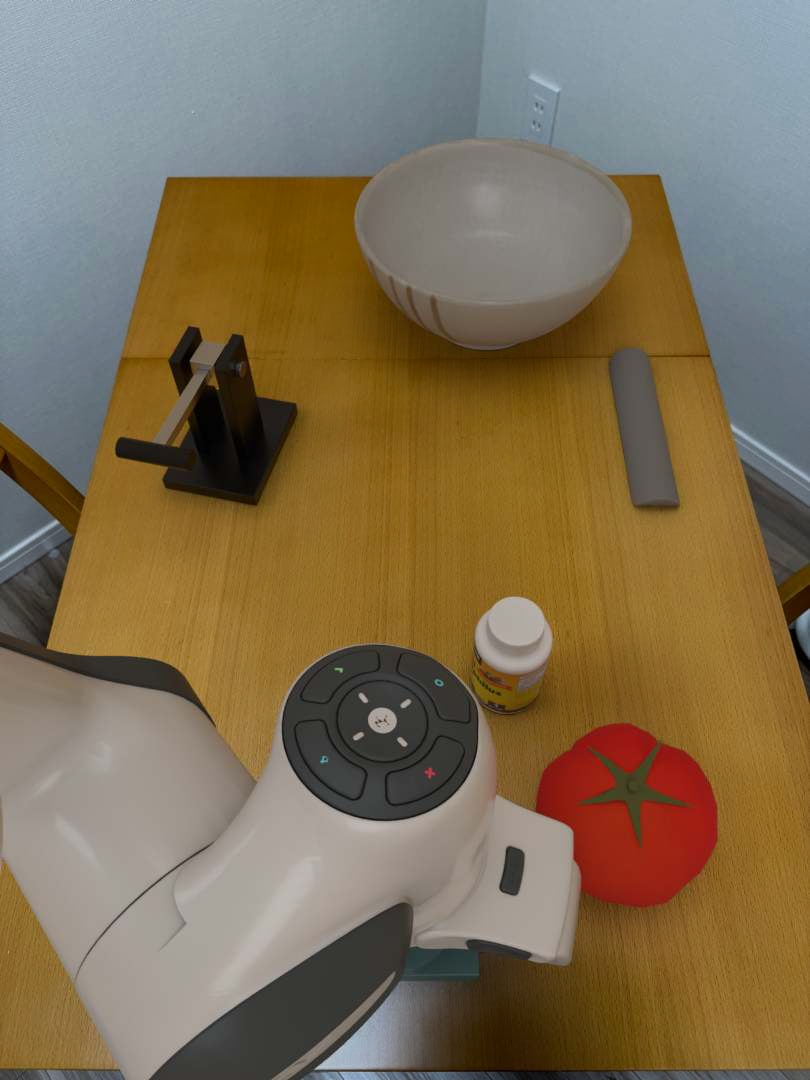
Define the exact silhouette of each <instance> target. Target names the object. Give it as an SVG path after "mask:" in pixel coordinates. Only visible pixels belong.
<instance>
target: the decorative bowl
mask: <svg viewBox="0 0 810 1080" xmlns="http://www.w3.org/2000/svg"><path fill="white" fill-rule="evenodd" d="M353 223H354V224H353V226H354V233H355V236H356V240H357V243H358V247H359V249H360V252H361V254H362V257H363V259H364V261H365V263H366V265H367V268H368V270H369V271H370V273H371V274H372V276H373V278H374V280H375V281H376V283H377V284H378V286H379V287H380V288H381V290H382V292H383V293H384V294H385V296H386V297H387V298H388V299H389V300H390V301H391V303H393V305H394V306H395V307H396V308H397V309H398V310H399V311H400V312H401V313H402V314H404V316H406V317H408V319H409V320H411V321H412V322H413V323H415V324H416V325H418V326H420V327H421V328H423V329H425V330H426V331H428V332H429V333H432V334H434V335H435V336H437V337H439V338H440V337H441V338H443V339H444V340H447V341H449V342H450V343H453V344H455V345H458V346H461V347H464V348H467V349H472V350H479V351H482V350H483V351H494V350H502V349H506V348H510V347H513V346H516V345H518V344H521V343H525V342H528V341H532V340H535V339H539V338H540V337H542V336H544V335H547V334H549V333H551V332H552V331H555V330H556V329H559V328H560V327H562V326H564V325H565V324H567V323H568V322H569V321H570V320H571V319H573V318H575V317H576V316H577V315H578V314H580V312H582V311H583V310H584V309H585V308H586V307H587V306H589V305H590V303H591V302H592V301H593V300H595V298H596V297H597V296H598V295H599V294H600V293H601V291H602V290H603V289H604V287H605V286H606V285H607V284H608V282H610V280H611V278H612V277H613V275H614V274H615V272H616V271H617V269H618V268H619V265H620V264H621V262H622V261H623V258H624V257H625V255H626V252H627V250H628V248H629V245H630V243H631V238H632V235H633V234H632V233H633V217H632V213H631V209H630V206H629V203H628V201H627V199H626V197H625V195H624V194H623V192H622V190H621V189H620V188H619V187H618V185H617V184H616V183H615V182H614V181H613V180H612V179H611V178H610V177H609V176H608V175H607V174H605V172H603V171H602V170H601V169H599V168H598V167H596V166H595V165H593V164H592V163H590V162H589V161H587V160H585V159H583V158H582V157H579V156H577V155H575V154H572V153H570V152H568V151H565V150H563V149H560V148H557V147H555V146H550V145H547V144H543V143H539V142H534V141H529V140H524V139H515V138H506V137H473V138H463V139H455V140H450V141H444V142H439V143H434V144H431V145H429V146H428V145H427V146H425V147H422V148H420V149H419V148H418V149H416V150H414V151H411V152H409V153H407V154H405V155H402V156H401V157H399V158H397V159H395V160H394V161H392V162H390V163H389V164H387V165H386V166H384V167H383V168H382V169H381V170H379V171H378V172H377V173H376V174H375V175H374V176H373V177H372V178H371V179H370V180H369V181H368V182H367V184H366V185H365V186H364V188H363V189H362V191H361V193H360V195H359V197H358V199H357V202H356V204H355V209H354V216H353Z"/></svg>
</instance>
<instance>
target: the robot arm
mask: <svg viewBox="0 0 810 1080" xmlns="http://www.w3.org/2000/svg"><path fill="white" fill-rule="evenodd" d="M216 725H217V724H216V723H215V722H214V719H213V718H212V716H211V715H210V713H209V711H208V710H207V709H206V707H205V705H204V703H203V702H202V700H201V699H200V698H199V696H198V694H197V693H196V691H195V690H194V689H193V687H192V685H191V683H190V682H189V680H188V679H187V677H186V676H185V674H184V673H182V671H180V670H179V669H178V668H177V667H175V666H173V665H172V664H170V663H167V662H165V661H162V660H159V659H155V658H149V657H144V656H143V657H142V656H131V655H87V654H86V655H85V654H75V653H67V652H63V651H58V650H54V649H50V648H47V647H43V646H41V645H38V644H35V643H33V642H29V641H27V640H24V639H21V638H18V637H16V636H13V635H11V634H8V633H5V632H1V631H0V876H1V874H2V866H3V860H4V863H5V864H6V866H7V868H8V870H9V872H10V873H11V875H12V876H13V878H14V880H15V882H16V883H17V886H18V887H19V889H20V891H21V893H22V894H23V896H24V898H25V900H26V902H27V903H28V905H29V907H30V909H31V911H32V912H33V914H34V916H35V918H36V919H37V921H38V923H39V925H40V926H41V929H42V930H43V932H44V934H45V935H46V937H47V939H48V941H49V943H50V944H51V946H52V948H53V950H54V952H55V953H56V955H57V958H58V959H59V961H60V962H61V964H62V966H63V968H64V970H65V972H66V974H67V975H68V976H69V979H70V981H71V982H72V984H73V986H74V989H75V992H76V994H77V996H78V998H79V999H80V1001H81V1003H82V1005H83V1008H84V1009H85V1010H86V1012H87V1014H88V1017H89V1018H90V1020H91V1022H92V1023H93V1026H94V1027H95V1029H96V1030H97V1032H98V1034H99V1036H100V1038H101V1039H102V1041H103V1044H104V1045H105V1047H106V1049H107V1051H108V1052H109V1054H110V1056H111V1057H112V1059H113V1061H114V1062H115V1065H116V1066H117V1068H118V1070H119V1071H120V1073H121V1075H122V1076H123V1078H124V1079H125V1080H302V1079H304V1078H305V1077H306V1076H307V1075H309V1074H310V1073H311V1072H313V1071H314V1070H315V1069H317V1068H318V1067H319V1066H320V1065H322V1064H323V1063H324V1062H325V1061H326V1060H328V1059H329V1058H330V1057H332V1055H334V1054H335V1053H336V1052H337V1051H338V1050H339V1049H340V1048H342V1047H343V1046H344V1045H345V1044H346V1043H347V1042H348V1041H349V1040H350V1039H351V1038H352V1037H353V1036H354V1035H355V1034H357V1032H358V1031H359V1030H360V1029H361V1028H362V1027H363V1026H364V1025H365V1024H366V1023H367V1022H368V1021H369V1019H371V1018H372V1016H374V1014H375V1013H376V1012H377V1011H378V1010H379V1008H380V1007H381V1006H382V1005H383V1004H384V1003H385V1001H386V1000H387V999H388V997H390V995H391V994H392V993H393V991H394V990H395V989H396V987H397V986H398V984H399V983H400V982H401V981H400V980H401V978H402V976H403V973H404V969H405V966H406V962H407V957H408V953H409V948H410V947H415V946H418V947H420V948H424V949H448V948H453V949H469V950H471V951H477V952H479V953H484V954H492V955H496V956H501V957H507V958H512V959H516V960H519V961H531V962H535V963H538V964H539V963H540V964H549V965H554V966H559V967H566V966H568V965H569V964H570V963H571V962H572V959H573V953H574V947H575V940H576V933H577V926H578V918H579V917H578V916H579V909H580V902H581V901H580V900H581V892H582V891H581V873H580V869H579V867H578V865H577V863H576V862H575V861H574V860H573V854H574V833H573V830H572V829H571V828H570V827H569V826H567V825H566V824H564V823H562V822H560V821H557V820H554V819H552V818H549V817H547V816H545V815H543V814H540V813H538V812H535V810H532V809H530V808H527V807H525V806H523V805H520V804H519V803H517V802H514V801H512V800H509V799H506V798H505V797H503V796H501V795H499V794H498V793H497V792H498V791H497V789H498V762H497V753H496V752H497V751H496V747H495V743H494V739H493V734H492V731H491V728H490V726H489V722H488V719H487V718H486V715H485V712H484V710H483V708H482V706H481V703H480V702H479V701H478V700H477V698H476V697H475V695H474V693H473V691H472V689H471V688H469V686H468V685H467V684H466V683H465V681H464V680H463V679H462V678H461V677H460V676H458V675H457V674H456V673H455V672H454V671H453V670H451V668H449V667H448V666H446V665H445V664H443V663H441V662H440V661H438V659H436V658H434V657H432V656H430V655H428V654H426V653H423V652H421V651H419V650H415V649H413V648H409V647H405V646H401V645H396V644H389V643H381V642H380V643H379V642H372V643H371V642H367V643H357V644H351V645H347V646H343V647H340V648H337V649H334V650H332V651H330V652H328V653H325V654H323V655H321V656H320V657H319V658H317V659H315V660H314V661H313V662H311V663H310V664H309V665H307V666H306V667H305V668H304V669H303V670H302V671H301V672H300V673H299V674H298V675H297V676H296V677H295V679H294V680H293V682H292V683H291V685H290V686H289V687H288V690H287V691H286V693H285V695H284V697H283V699H282V702H281V704H280V706H279V709H278V712H277V716H276V719H275V723H274V731H273V737H272V740H271V741H272V742H271V747H270V751H269V755H268V758H267V761H266V763H265V765H264V767H263V770H262V773H261V774H260V776H259V779H258V780H256V779H255V778H254V776H253V775H252V774H251V772H250V771H249V769H248V768H247V767H246V766H245V765H244V763H243V762H242V761H241V759H240V758H239V757H238V755H237V754H236V752H235V751H234V750H233V748H232V747H231V746H230V745H229V744H228V741H226V739H225V738H224V736H222V734H221V732H219V730H218V729H217V726H216Z"/></svg>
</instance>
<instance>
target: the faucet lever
mask: <svg viewBox="0 0 810 1080" xmlns="http://www.w3.org/2000/svg"><path fill="white" fill-rule="evenodd" d="M226 345H227V343H220V342H214V341H209V340H203V339H202V342H201V343H200V345H199V346H198V348H197V350H196V351H195V353H194V354H193V356H192V358H191V359H190V361H189V362H190V366H191V370H192V373H193V376H192V378H191V380H190V381H189V383H188V385H187V386H186V388H185V389H184V391H183V393H182V394H181V396H179V398H178V399H177V401H176V403H175V404H174V406H173V408H172V409H171V410H170V412H169V414H168V415H167V417H166V418H165V420H164V422H163V423H162V425H161V427H160V429H159V430H158V431H157V433H156V435H155V437H154V438H153V440H152V441H147V440H143V439H137V438H132V437H127V436H120V437H118V438H117V440H116V442H115V445H114V453H115V456H116V457H117V458H119V459H123V460H128V461H133V462H139V463H144V464H149V465H154V466H159V467H164V468H168V467H169V468H174V469H179V470H184V471H189V472H190V471H192V470H193V469H194V467H195V464H196V452H195V451H194V450H190V449H185V448H180V447H179V446H174V443H175V441H176V439H177V438H178V436H179V434H180V433H181V431H182V429H183V428H184V426H185V424H186V423H187V422H188V420H187V419H188V417H189V416H190V414H191V412H192V411H193V409H194V407H195V405H196V404H197V402H198V400H199V399H200V397H201V395H202V394H203V392H204V390H205V389H206V387H207V385H211V386H215V387H216V388H219V387H218V383H217V379H216V376H215V372H214V367H215V365H216V363H217V361H218V360H219V358H220V356H221V354H222V352H223V350H224V348H225V347H226Z"/></svg>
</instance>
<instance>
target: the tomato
mask: <svg viewBox="0 0 810 1080" xmlns="http://www.w3.org/2000/svg"><path fill="white" fill-rule="evenodd" d="M534 811H535V812H538V813H540V814H543V815H545V816H547V817H549V818H552V819H554V820H557V821H560V822H562V823H564V824H566V825H567V826H569V827H570V828H571V829H572V830H573V833H574V854H573V860H574V861H575V862H576V863H577V865H578V867H579V869H580V873H581V892H582V893H585V894H587V895H588V896H591V897H593V898H596V899H597V900H598V901H600V902H604V903H608V904H609V903H610V904H616V905H621V906H626V907H627V906H628V907H634V908H639V909H640V908H642V909H644V908H648V907H653V906H659V905H663V904H667V903H668V902H669V901H670V900H671V899H672V898H673V897H675V895H677V894H678V893H679V892H680V891H681V890H682V889H683V888H684V887H686V885H688V884H689V883H690V882H691V881H692V880H693V879H694V878H696V877H697V876H698V875H699V874H700V873H702V871H703V870H704V868H705V866H706V865H707V863H708V861H709V860H710V858H711V857H712V854H713V852H714V850H715V847H716V845H717V843H718V840H719V839H718V833H719V831H718V803H717V800H716V797H715V794H714V791H713V787H712V784H711V782H710V780H709V779H708V778H707V776H706V774H705V772H704V770H703V769H702V768H701V766H700V764H699V762H698V761H696V759H694V758H693V757H692V756H691V755H690V754H689V753H687V751H686V750H684V749H681V748H678V747H675V746H672V745H668V744H666V743H663V742H662V740H660V741H658V740H657V738H655V737H654V736H653V734H651V733H650V732H649V731H646V730H645V729H642V728H641V727H638V726H636V725H635V724H632V723H630V722H619V723H617V722H615V723H614V722H613V723H609V724H605V725H601V726H597V727H595V728H594V729H591V731H589V732H587V733H586V734H584V735H583V736H581V737H580V738H578V739H576V740H575V741H574V743H573V745H572V746H571V747H570V749H568V750H566V751H564V752H562V753H561V754H559V756H557V757H556V758H555V759H554V760H552V761H551V762H550V763H549V764H548V765H547V766H546V767H545V768H544V770H543V771H542V772H541V776H540V781H539V785H538V789H537V794H536V801H535V809H534Z"/></svg>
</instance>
